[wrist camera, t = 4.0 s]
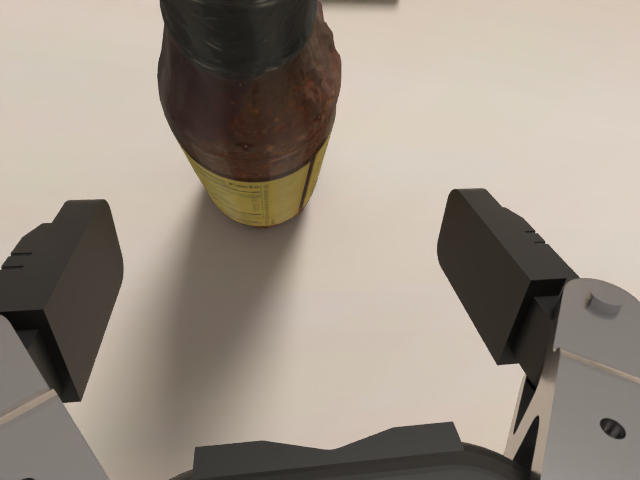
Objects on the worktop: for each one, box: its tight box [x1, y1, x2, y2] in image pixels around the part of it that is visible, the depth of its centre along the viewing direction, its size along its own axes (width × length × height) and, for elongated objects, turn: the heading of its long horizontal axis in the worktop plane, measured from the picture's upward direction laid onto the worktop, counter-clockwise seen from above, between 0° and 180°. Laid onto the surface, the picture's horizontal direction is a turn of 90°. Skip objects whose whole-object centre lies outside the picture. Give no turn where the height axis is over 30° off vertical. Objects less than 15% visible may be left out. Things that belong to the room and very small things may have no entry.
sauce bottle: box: [157, 0, 341, 228], centre depth 17 cm, size 7×6×20 cm
